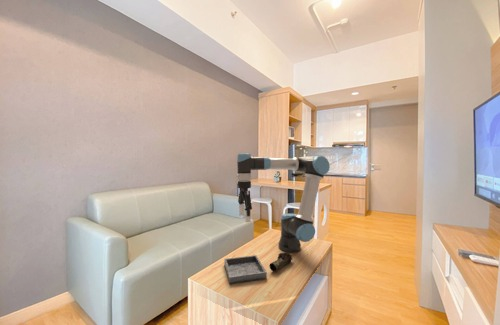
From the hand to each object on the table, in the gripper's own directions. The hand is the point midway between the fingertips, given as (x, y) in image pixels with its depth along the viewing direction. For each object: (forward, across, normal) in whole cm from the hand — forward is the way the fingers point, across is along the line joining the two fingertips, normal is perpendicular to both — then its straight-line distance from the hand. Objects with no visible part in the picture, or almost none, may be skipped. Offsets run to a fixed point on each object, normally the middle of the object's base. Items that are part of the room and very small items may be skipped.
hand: (244, 218), depth 112 cm
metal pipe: (+31, +8, +15) cm, 35 cm away
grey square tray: (+28, +4, -2) cm, 28 cm away
